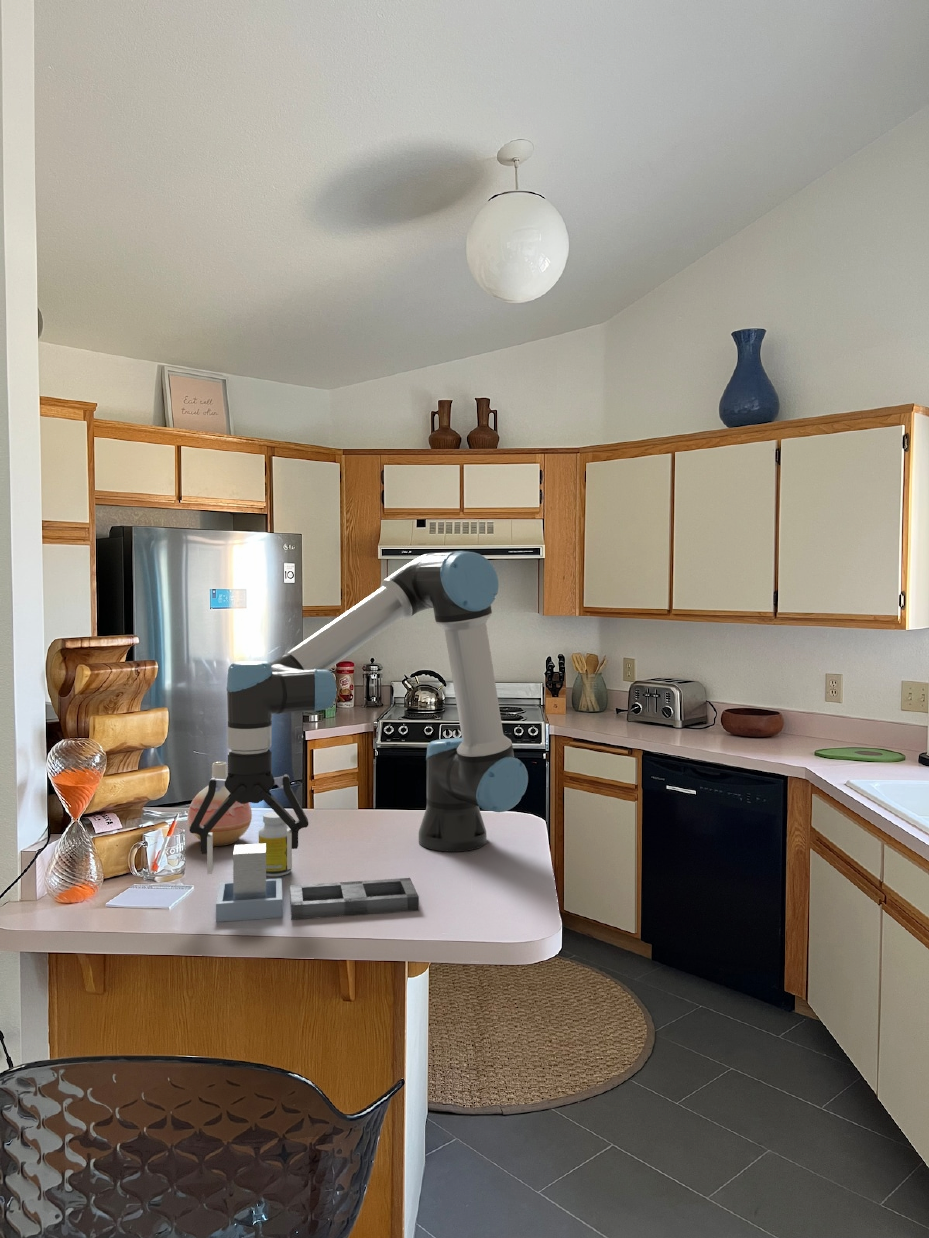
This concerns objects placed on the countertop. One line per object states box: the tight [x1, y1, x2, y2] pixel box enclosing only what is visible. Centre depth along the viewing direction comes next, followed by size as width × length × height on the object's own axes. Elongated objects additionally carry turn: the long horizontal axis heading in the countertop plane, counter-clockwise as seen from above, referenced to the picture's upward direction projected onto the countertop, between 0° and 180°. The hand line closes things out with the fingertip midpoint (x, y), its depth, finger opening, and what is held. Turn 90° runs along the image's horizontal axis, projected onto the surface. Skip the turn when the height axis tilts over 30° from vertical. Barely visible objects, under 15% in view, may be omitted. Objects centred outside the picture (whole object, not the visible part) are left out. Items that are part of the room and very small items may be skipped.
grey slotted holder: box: [289, 877, 420, 921], centre depth 159 cm, size 22×10×2 cm, turn 102°
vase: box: [187, 761, 253, 847], centre depth 195 cm, size 14×14×18 cm
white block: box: [232, 843, 267, 901], centre depth 156 cm, size 6×6×10 cm
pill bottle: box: [258, 811, 293, 878], centre depth 175 cm, size 6×6×12 cm
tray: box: [215, 878, 283, 923], centre depth 157 cm, size 11×11×3 cm
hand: (250, 869), depth 156 cm, fingers open, 13 cm apart
